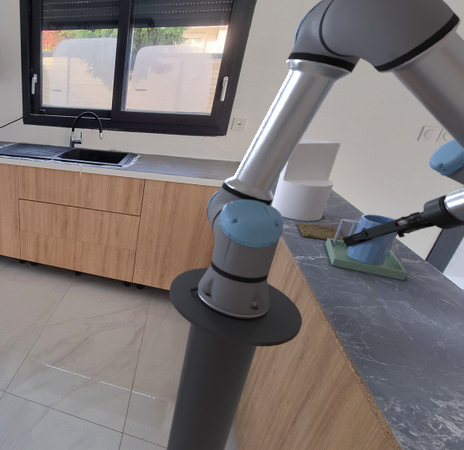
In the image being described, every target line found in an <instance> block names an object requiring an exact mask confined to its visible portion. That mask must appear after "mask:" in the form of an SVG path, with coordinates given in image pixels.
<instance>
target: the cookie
mask: <svg viewBox="0 0 464 450" xmlns="http://www.w3.org/2000/svg"><path fill="white" fill-rule="evenodd" d="M297 225H298V229H299V231H300V234H301V236H302V237H305V238H313V239H314V238H315V239H317V240H319V239H320V240H324V241H327V238H329V239H334V238H335V235H336V232H337V230H338V228H337V227H334V226H327V225H326V226H325V225H318V224H312V223H308V222H306V223H305V222H298V223H297ZM342 238H345V237H344V235H342V233H341V232H340V234H339V236H338V239H337V240H340V241H343V239H342Z"/></svg>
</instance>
